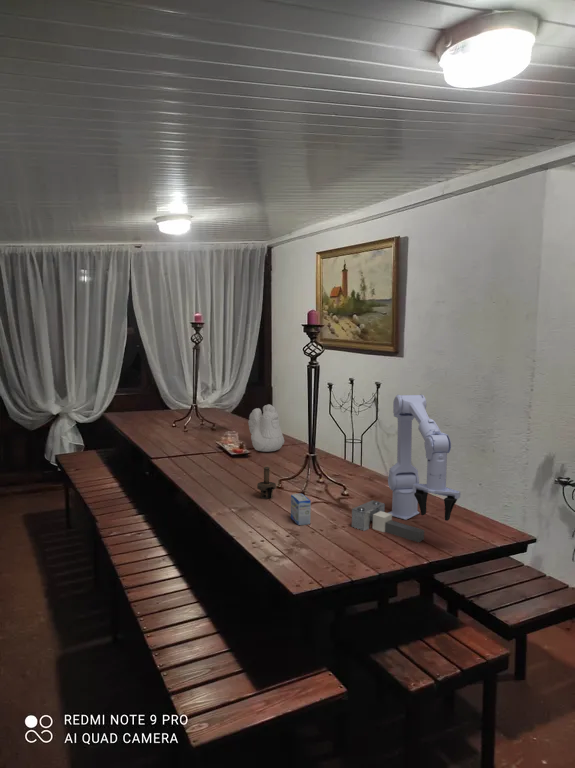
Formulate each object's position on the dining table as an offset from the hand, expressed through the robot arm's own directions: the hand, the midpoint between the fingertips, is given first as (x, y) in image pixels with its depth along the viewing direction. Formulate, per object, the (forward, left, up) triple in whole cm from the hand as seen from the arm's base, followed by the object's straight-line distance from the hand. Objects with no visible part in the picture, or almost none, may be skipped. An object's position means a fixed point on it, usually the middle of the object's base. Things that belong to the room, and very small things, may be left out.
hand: (435, 517), depth 172 cm
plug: (-1, -13, -10) cm, 17 cm away
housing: (-1, -25, -10) cm, 27 cm away
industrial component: (+3, -71, -10) cm, 72 cm away
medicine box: (+13, -44, -10) cm, 47 cm away
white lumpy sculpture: (-51, -126, -10) cm, 136 cm away
